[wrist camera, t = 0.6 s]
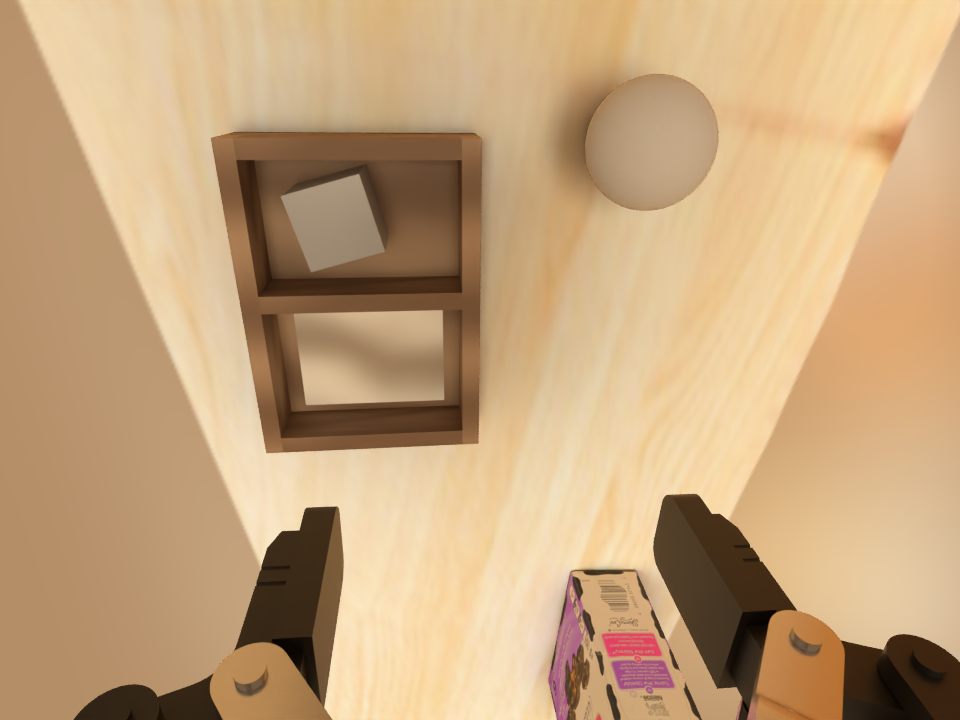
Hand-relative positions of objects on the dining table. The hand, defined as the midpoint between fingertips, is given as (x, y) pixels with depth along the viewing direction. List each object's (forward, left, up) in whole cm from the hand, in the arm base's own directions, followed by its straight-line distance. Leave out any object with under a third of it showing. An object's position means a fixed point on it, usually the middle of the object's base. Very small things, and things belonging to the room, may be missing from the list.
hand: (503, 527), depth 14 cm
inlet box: (+2, -5, -24) cm, 24 cm away
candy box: (+33, +12, -24) cm, 42 cm away
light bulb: (-7, +9, -24) cm, 26 cm away
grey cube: (-3, -6, -23) cm, 24 cm away
